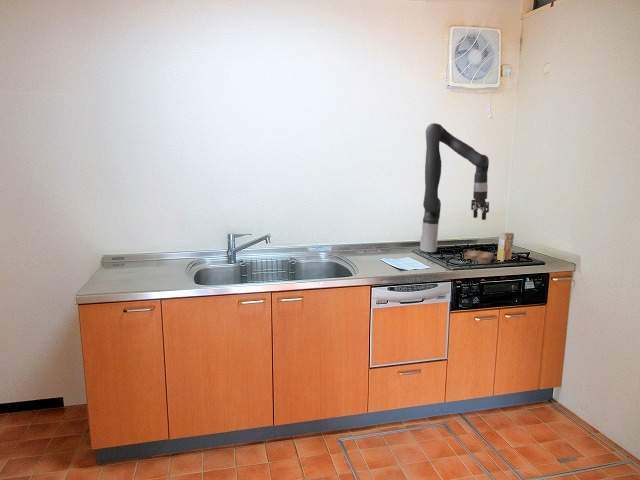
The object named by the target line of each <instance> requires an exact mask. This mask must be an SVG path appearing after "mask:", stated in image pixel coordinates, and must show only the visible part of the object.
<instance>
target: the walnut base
mask: <svg viewBox="0 0 640 480" xmlns="http://www.w3.org/2000/svg"><path fill="white" fill-rule="evenodd" d="M463 259H471V260H473V261H472V262H479V263H485V264H490V263H491V261H492V260H493V259H494V252H488V251H480V250H471V249H468V250H467V251H466V252H465V253H464V254H463Z"/></svg>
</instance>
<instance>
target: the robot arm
mask: <svg viewBox="0 0 640 480" xmlns="http://www.w3.org/2000/svg"><path fill="white" fill-rule="evenodd" d="M425 141H426V144H425V145H426V148H425V149H426V151H425V165H424V183H425V185H424V186H425V187H424V189H425V190H424V196H423V197H424V198H423V204H422V205H423V209H424V214H423V217H422V218H423V219H422V231H421V235H420V241H419V242H420V244H419V246H420V247H419V251H420V252H425V253H436V252H437V248H438V235H439V222H440V217H441V207H442V204H441V203H442V202H441V199H440V198H439V185H440V181H441V176H442V157H441V154H440V153H441V151H440V143H442V144H444V145H446V146H448V147H449V148H450V149H451V150H452V151H453V152H455V153H456V154H457V155H459V156H461V157H462V158H464V159H465V160H468V162H469V163H471V164H472V165H473V166H475V172H474V176H473V178H474V179H473V196H472V197H473V199H471V205H470V207H471V208H470V210H471V211H472V212H473V219H477V218H478V213H479V212H478V211H479V210H480V211H481V220H482V221H486V220H487V214H488V213H489V212H490V201H486V200H487V199H488V191H489V190H488V186H489V185H488V171H489V167H490V165H489V163H490V161H489V160H490V159H489V157H488V155H486V154H482V153H480V152H478V151H477V150H476V149H475V148H473V147H472V146H471V145H469V144H467V143H465V142H464V141H462V140H461V139H459V138H458V137H455V136H454V135H453V134H451V133H450V132H449V131H447V130H446V129H445V128H444V127H443V126H442V125H441V124H440V123H435V122H433V123H430V124H429V125H427V127H426V129H425Z"/></svg>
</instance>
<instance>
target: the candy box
mask: <svg viewBox="0 0 640 480" xmlns="http://www.w3.org/2000/svg"><path fill="white" fill-rule="evenodd" d="M514 235H515V233H513V232H504V233H499V237H498V244H497V255H496V261H498V260H500V262H505V261H504V260H506V261H509V260H508V259H510V260H511V259H512V252H513V243H514V238H515V237H514Z"/></svg>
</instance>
